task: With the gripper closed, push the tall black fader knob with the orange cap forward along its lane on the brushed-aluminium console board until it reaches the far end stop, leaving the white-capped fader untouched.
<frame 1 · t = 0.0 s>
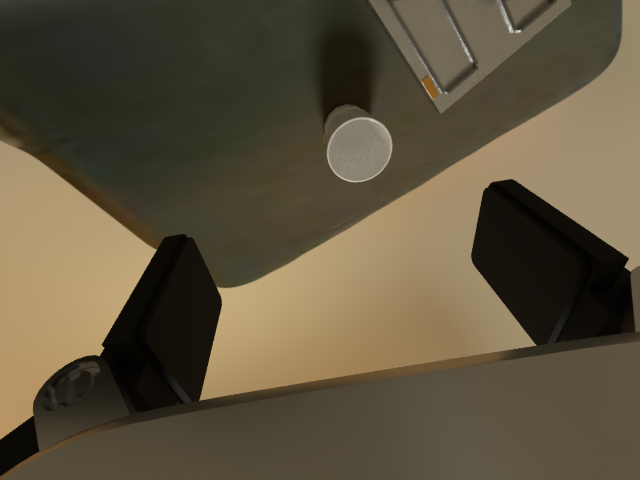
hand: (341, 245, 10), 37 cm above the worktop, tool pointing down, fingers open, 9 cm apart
white cup: (346, 128, 45), on the worktop
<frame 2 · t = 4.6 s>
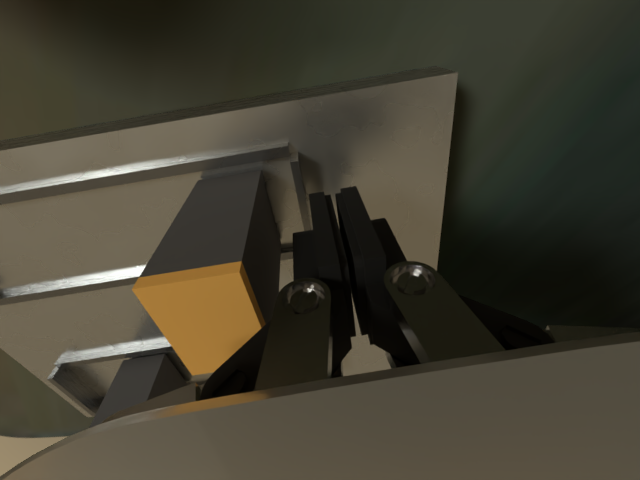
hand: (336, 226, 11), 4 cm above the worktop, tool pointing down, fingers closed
console: (217, 278, 18), on the worktop
fader b: (137, 426, 16), point 5 cm above the worktop, slide at 9.0 cm
fader a: (231, 259, 10), point 5 cm above the worktop, slide at 0.7 cm, touching gripper
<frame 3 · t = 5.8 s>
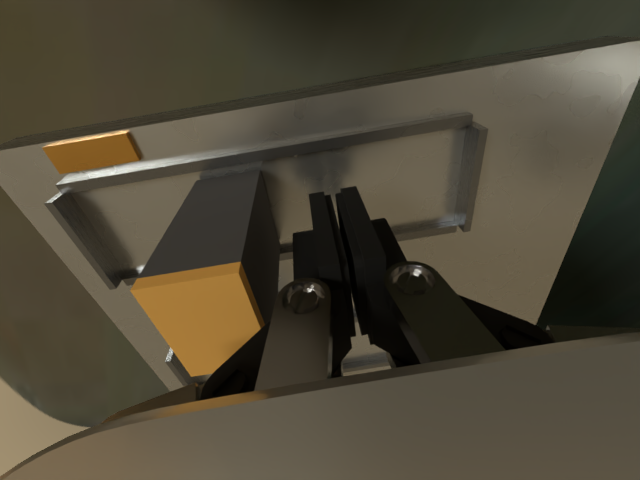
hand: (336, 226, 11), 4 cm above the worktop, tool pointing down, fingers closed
console: (332, 259, 17), on the worktop
fader a: (230, 259, 10), point 5 cm above the worktop, slide at 7.5 cm, touching gripper
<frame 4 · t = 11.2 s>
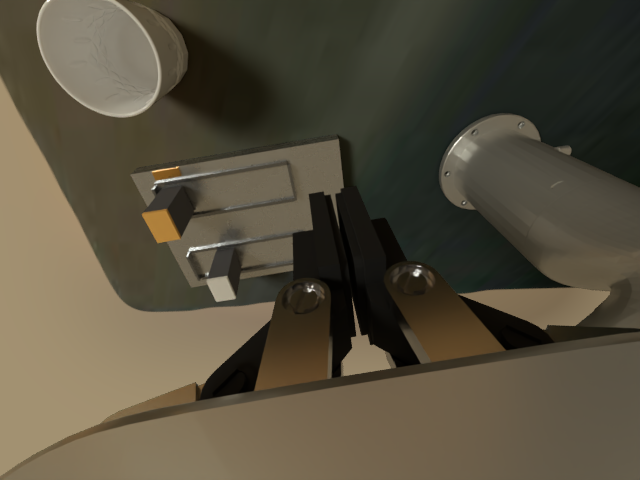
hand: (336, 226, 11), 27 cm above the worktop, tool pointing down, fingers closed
console: (256, 215, 41), on the worktop
fader b: (225, 274, 40), point 5 cm above the worktop, slide at 9.0 cm
fader a: (170, 212, 34), point 5 cm above the worktop, slide at 12.0 cm
white cup: (153, 50, 30), on the worktop
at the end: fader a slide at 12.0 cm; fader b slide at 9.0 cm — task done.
